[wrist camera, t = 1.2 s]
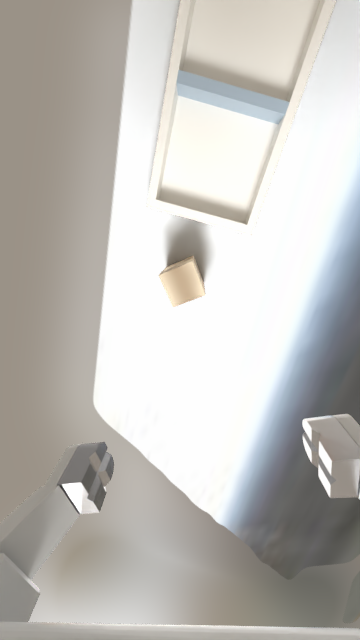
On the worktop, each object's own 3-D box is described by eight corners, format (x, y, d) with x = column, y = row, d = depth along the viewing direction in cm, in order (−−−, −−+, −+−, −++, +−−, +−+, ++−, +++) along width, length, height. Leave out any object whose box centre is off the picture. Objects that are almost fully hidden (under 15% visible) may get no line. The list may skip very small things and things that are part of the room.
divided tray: (201, -85, 19) (202, -138, 17) (343, -41, 20) (367, -85, 17) (151, 208, 29) (146, 206, 26) (246, 235, 29) (251, 235, 27)
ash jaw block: (193, 255, 31) (192, 261, 25) (203, 282, 33) (205, 294, 26) (166, 266, 32) (158, 275, 26) (177, 293, 34) (173, 307, 27)
